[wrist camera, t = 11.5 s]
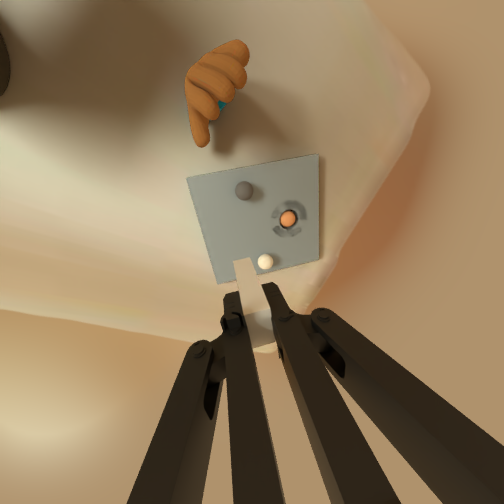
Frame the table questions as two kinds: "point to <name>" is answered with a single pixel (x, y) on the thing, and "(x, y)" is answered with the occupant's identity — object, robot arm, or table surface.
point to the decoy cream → (265, 261)
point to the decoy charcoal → (244, 190)
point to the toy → (214, 85)
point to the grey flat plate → (259, 214)
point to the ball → (287, 218)
